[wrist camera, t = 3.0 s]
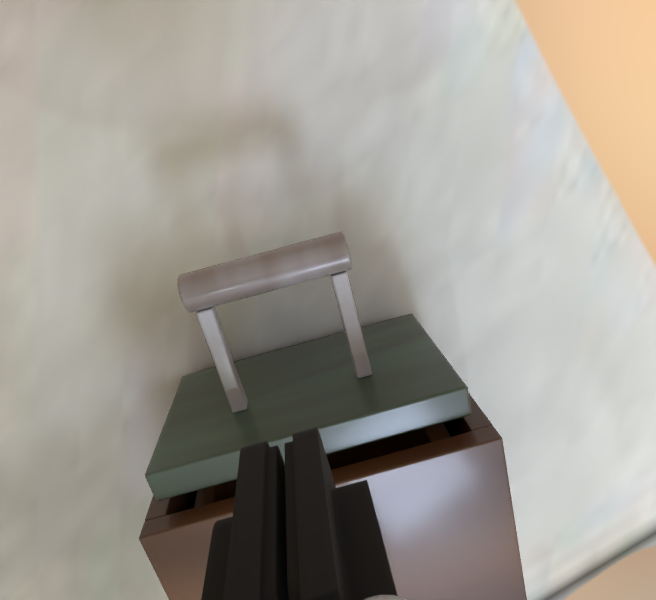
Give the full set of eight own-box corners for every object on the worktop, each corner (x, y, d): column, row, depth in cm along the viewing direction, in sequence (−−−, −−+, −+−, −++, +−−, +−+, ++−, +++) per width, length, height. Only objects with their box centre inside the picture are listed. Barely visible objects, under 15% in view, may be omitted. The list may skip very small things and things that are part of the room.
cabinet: (185, 399, 25) (138, 538, 16) (425, 333, 25) (502, 437, 17) (267, 602, 30) (263, 792, 21) (467, 546, 30) (544, 712, 21)
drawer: (137, 263, 22) (73, 324, 15) (388, 196, 22) (440, 225, 15) (263, 579, 28) (259, 724, 21) (456, 525, 28) (514, 652, 21)
